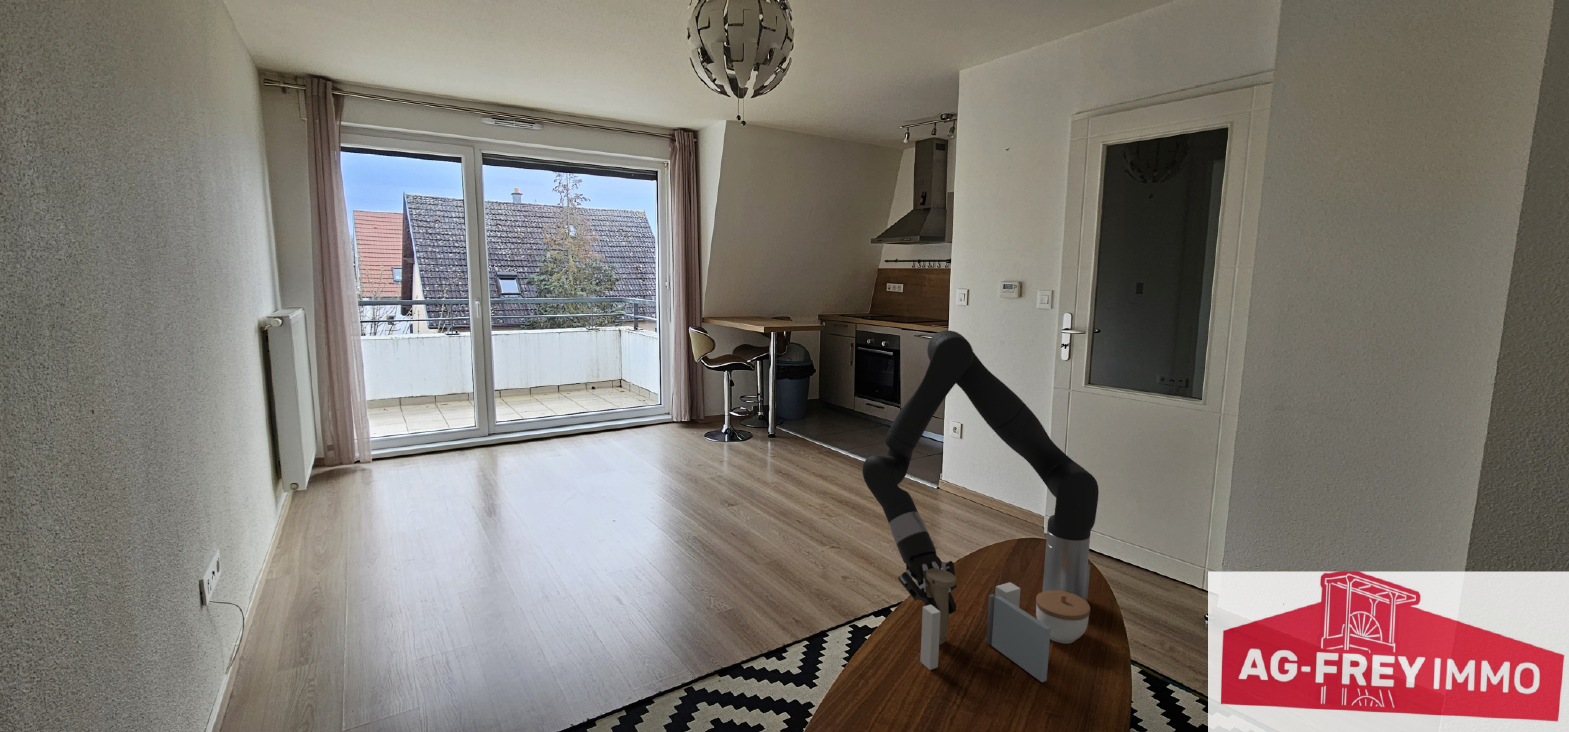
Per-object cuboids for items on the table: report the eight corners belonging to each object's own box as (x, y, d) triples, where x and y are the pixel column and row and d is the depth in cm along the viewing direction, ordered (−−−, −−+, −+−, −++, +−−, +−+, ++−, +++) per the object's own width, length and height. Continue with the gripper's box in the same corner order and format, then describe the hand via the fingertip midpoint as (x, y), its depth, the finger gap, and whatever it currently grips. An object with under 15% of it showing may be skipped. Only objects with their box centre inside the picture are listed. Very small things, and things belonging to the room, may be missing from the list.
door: (984, 641, 142) (987, 592, 141) (990, 639, 143) (993, 590, 141) (1041, 682, 129) (1045, 629, 127) (1047, 680, 130) (1051, 627, 128)
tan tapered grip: (942, 652, 139) (946, 584, 137) (918, 638, 144) (921, 572, 142) (957, 643, 142) (961, 577, 140) (932, 630, 147) (936, 566, 145)
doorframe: (1006, 633, 146) (1009, 582, 144) (1016, 640, 143) (1020, 588, 141) (920, 661, 136) (922, 606, 134) (929, 669, 133) (932, 613, 131)
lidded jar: (1082, 655, 138) (1086, 613, 137) (1028, 639, 144) (1031, 598, 142) (1091, 631, 147) (1094, 591, 146) (1039, 616, 153) (1042, 578, 151)
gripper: (892, 536, 143) (926, 617, 135) (945, 524, 149) (980, 601, 141) (877, 549, 149) (909, 628, 140) (929, 538, 155) (962, 612, 146)
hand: (944, 614), depth 141 cm, fingers closed on tan tapered grip, 3 cm apart
